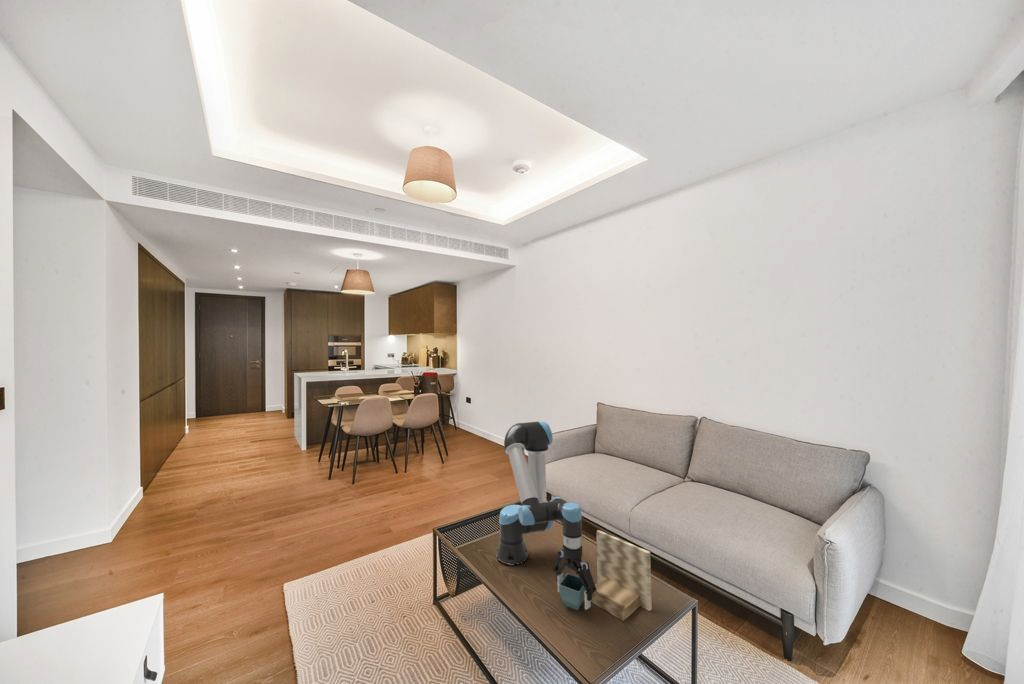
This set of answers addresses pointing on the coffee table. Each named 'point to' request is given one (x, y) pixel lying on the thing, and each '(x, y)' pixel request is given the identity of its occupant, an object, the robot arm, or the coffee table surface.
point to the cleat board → (621, 576)
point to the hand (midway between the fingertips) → (573, 599)
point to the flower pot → (572, 591)
